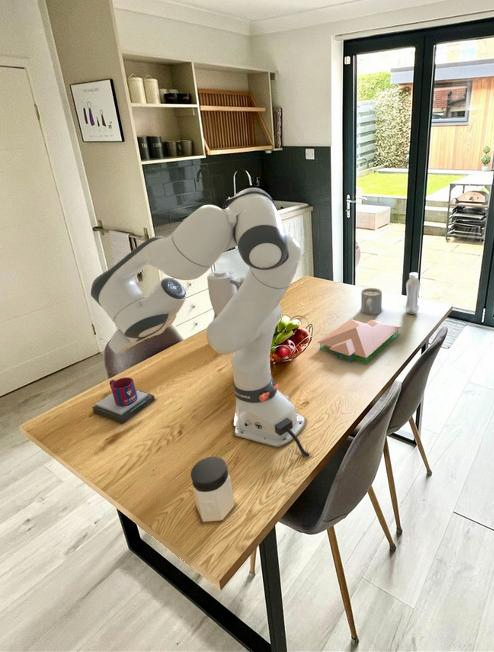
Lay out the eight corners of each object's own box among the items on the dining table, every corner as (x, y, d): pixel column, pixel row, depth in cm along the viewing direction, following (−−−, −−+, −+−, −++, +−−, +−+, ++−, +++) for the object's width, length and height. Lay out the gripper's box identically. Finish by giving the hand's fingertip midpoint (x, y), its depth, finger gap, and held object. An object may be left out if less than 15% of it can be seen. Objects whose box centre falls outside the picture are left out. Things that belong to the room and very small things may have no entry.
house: (313, 352, 162) (312, 334, 159) (355, 322, 186) (355, 306, 183) (362, 368, 149) (362, 349, 146) (400, 334, 174) (401, 317, 171)
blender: (209, 344, 171) (197, 273, 159) (228, 332, 181) (219, 265, 169) (237, 352, 164) (227, 279, 152) (255, 339, 174) (248, 270, 161)
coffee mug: (366, 304, 204) (366, 286, 201) (384, 308, 200) (384, 289, 196) (355, 314, 194) (355, 295, 190) (374, 318, 189) (374, 299, 185)
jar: (193, 523, 92) (184, 485, 87) (200, 494, 99) (193, 457, 94) (232, 520, 92) (225, 482, 87) (236, 491, 100) (231, 454, 95)
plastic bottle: (403, 309, 197) (405, 271, 189) (417, 309, 196) (420, 271, 188) (404, 315, 191) (406, 275, 184) (419, 315, 190) (421, 276, 183)
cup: (122, 409, 127) (117, 391, 125) (106, 398, 133) (101, 381, 130) (141, 398, 132) (137, 381, 130) (125, 388, 138) (120, 372, 135)
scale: (155, 400, 136) (153, 393, 135) (123, 423, 125) (121, 416, 124) (126, 390, 142) (124, 383, 141) (93, 412, 131) (91, 405, 130)
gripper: (173, 297, 120) (156, 321, 128) (113, 325, 103) (98, 350, 111) (186, 313, 120) (168, 335, 128) (129, 343, 103) (113, 367, 111)
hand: (135, 342), depth 119 cm, fingers open, 8 cm apart
